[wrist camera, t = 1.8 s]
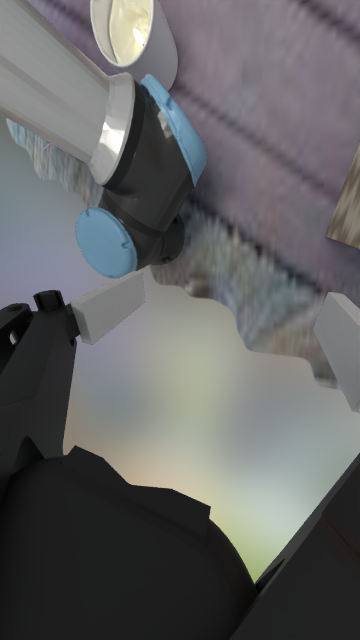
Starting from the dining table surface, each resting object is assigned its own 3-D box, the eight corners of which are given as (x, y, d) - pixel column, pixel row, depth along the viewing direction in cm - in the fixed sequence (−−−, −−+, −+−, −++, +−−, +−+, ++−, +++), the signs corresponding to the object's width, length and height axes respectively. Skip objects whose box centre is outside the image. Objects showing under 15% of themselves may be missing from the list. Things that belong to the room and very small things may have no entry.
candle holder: (165, 116, 39) (134, 83, 29) (127, 83, 38) (82, 38, 28) (193, 46, 33) (166, -24, 23) (148, 6, 33) (102, -82, 23)
